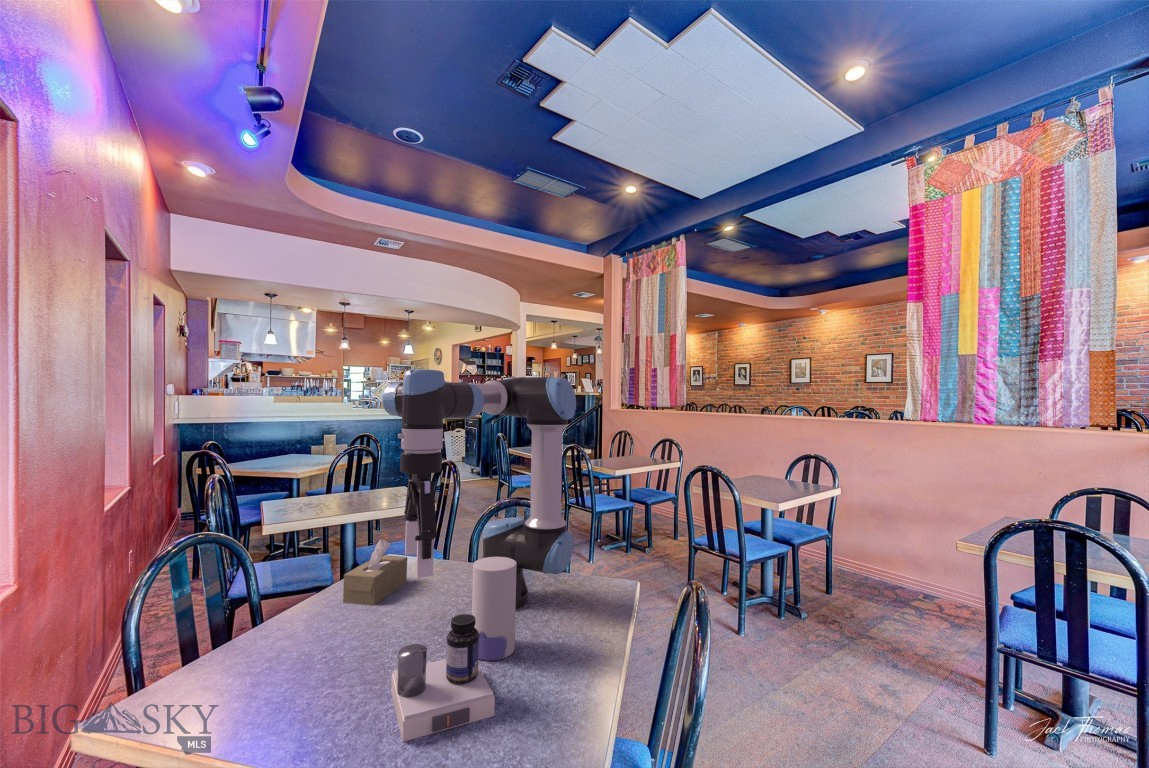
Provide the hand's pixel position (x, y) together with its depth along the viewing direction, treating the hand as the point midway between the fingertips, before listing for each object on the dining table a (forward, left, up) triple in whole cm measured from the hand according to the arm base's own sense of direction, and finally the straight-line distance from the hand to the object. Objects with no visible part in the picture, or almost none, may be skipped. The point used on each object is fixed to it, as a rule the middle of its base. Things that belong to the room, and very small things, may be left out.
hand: (418, 564), depth 92 cm
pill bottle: (-9, 0, -23) cm, 25 cm away
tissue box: (+1, -63, -27) cm, 68 cm away
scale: (-5, 0, -27) cm, 27 cm away
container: (-20, -15, -27) cm, 37 cm away
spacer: (0, 0, -23) cm, 23 cm away
